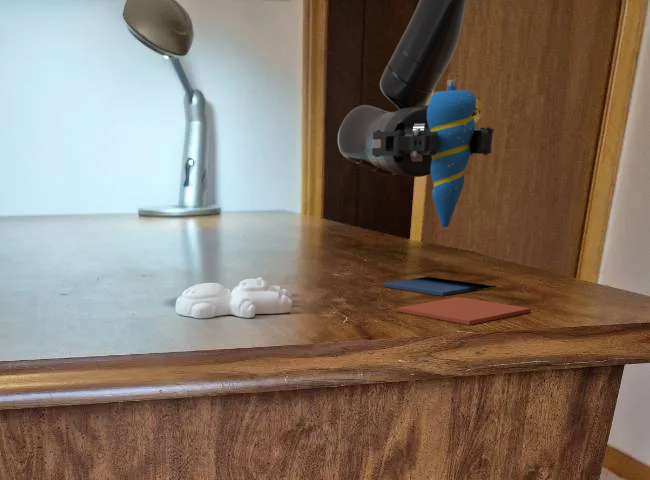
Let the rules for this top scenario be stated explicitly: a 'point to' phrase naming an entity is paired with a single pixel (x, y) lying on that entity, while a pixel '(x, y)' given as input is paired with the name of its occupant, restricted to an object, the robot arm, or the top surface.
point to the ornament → (450, 145)
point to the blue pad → (436, 286)
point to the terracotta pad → (464, 310)
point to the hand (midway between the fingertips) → (459, 142)
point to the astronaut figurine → (234, 300)
